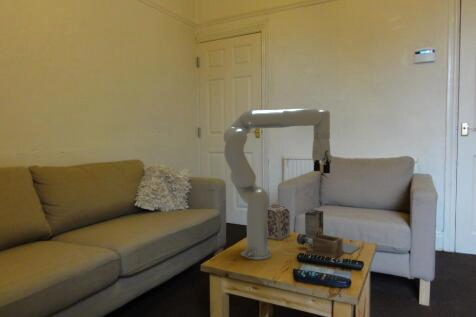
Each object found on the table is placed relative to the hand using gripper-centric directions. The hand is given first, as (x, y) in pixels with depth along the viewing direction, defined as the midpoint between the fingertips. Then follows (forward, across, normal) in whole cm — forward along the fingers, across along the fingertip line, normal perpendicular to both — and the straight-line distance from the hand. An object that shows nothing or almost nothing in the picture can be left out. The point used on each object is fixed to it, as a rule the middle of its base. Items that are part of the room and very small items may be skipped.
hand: (321, 172), depth 167 cm
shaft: (+35, +2, -6) cm, 36 cm away
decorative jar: (+37, -24, -15) cm, 47 cm away
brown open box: (+37, +8, -2) cm, 38 cm away
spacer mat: (+37, +4, +10) cm, 39 cm away
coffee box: (+37, -8, 0) cm, 38 cm away
